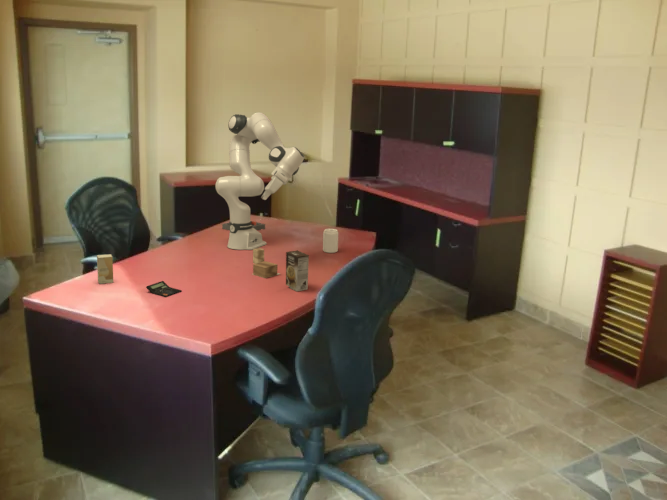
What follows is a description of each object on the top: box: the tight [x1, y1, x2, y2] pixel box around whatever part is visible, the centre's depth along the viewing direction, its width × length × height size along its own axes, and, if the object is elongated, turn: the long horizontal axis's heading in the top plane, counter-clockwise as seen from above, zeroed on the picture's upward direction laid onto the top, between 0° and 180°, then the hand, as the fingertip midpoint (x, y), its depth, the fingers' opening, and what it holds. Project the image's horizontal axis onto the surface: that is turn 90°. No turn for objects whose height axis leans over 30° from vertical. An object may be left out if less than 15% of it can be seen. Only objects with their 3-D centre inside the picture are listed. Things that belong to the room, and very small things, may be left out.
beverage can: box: [322, 228, 339, 254], centre depth 343 cm, size 8×8×12 cm
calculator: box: [145, 280, 183, 298], centre depth 273 cm, size 9×12×3 cm
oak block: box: [252, 247, 265, 264], centre depth 315 cm, size 4×4×8 cm
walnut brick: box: [252, 260, 278, 279], centre depth 297 cm, size 8×8×5 cm
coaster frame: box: [221, 220, 266, 231], centre depth 389 cm, size 18×18×3 cm
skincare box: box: [96, 254, 114, 285], centre depth 281 cm, size 6×4×12 cm
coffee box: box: [285, 250, 310, 292], centre depth 281 cm, size 9×6×16 cm
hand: (262, 199), depth 310 cm, fingers open, 8 cm apart
